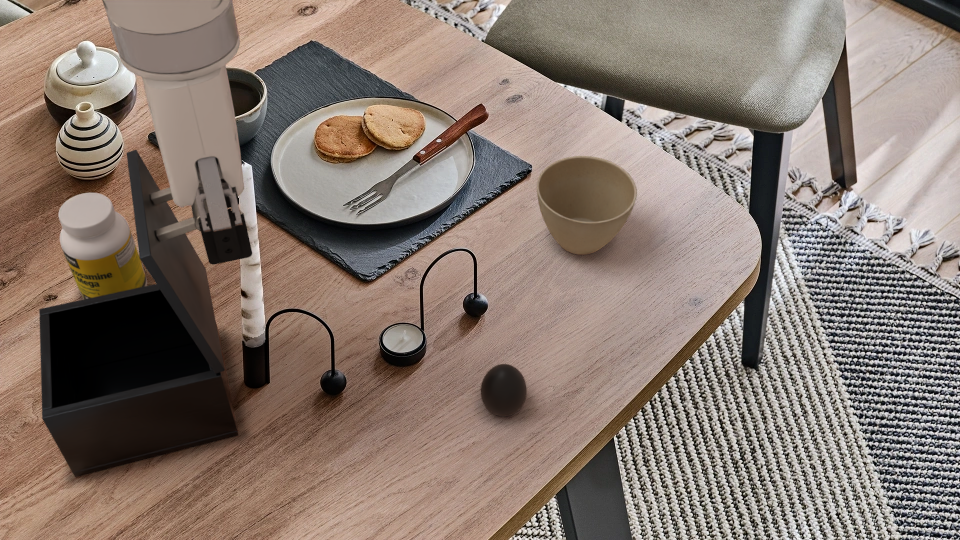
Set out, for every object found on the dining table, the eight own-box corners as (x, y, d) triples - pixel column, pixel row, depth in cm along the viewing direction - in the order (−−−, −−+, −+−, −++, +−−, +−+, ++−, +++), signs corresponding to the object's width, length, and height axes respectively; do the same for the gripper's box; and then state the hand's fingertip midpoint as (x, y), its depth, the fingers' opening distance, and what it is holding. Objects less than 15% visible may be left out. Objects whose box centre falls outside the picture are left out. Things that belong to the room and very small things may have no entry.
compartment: (75, 478, 79) (41, 418, 72) (69, 371, 86) (38, 308, 80) (239, 436, 82) (221, 375, 75) (220, 336, 89) (202, 273, 83)
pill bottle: (70, 305, 91) (33, 224, 83) (105, 261, 95) (74, 180, 87) (127, 321, 90) (95, 240, 82) (160, 276, 94) (133, 194, 86)
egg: (470, 404, 85) (471, 371, 81) (500, 377, 87) (502, 343, 83) (505, 430, 83) (507, 397, 79) (534, 402, 85) (538, 369, 81)
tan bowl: (586, 193, 104) (594, 143, 99) (646, 248, 99) (657, 197, 93) (513, 228, 100) (517, 177, 95) (571, 286, 95) (578, 236, 89)
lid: (139, 258, 64) (216, 232, 65) (126, 152, 72) (195, 129, 72) (215, 374, 75) (280, 350, 76) (197, 271, 82) (256, 251, 83)
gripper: (104, -33, 64) (164, 171, 77) (123, 119, 53) (188, 325, 66) (217, -48, 66) (256, 153, 79) (258, 96, 55) (295, 301, 68)
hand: (224, 230), depth 72 cm, fingers open, 5 cm apart
